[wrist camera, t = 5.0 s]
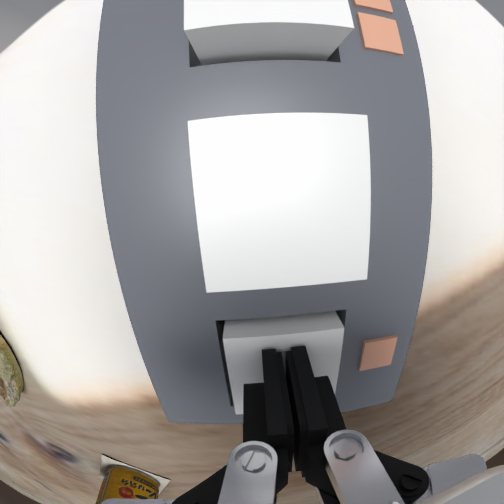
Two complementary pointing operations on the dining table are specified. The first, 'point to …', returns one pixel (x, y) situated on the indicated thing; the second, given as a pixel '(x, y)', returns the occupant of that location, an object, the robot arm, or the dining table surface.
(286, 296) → the keypad
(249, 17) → the key
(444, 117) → the dining table surface
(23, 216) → the dining table surface
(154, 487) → the condiment
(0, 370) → the ceramic model
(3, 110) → the dining table surface
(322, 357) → the key
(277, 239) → the key
